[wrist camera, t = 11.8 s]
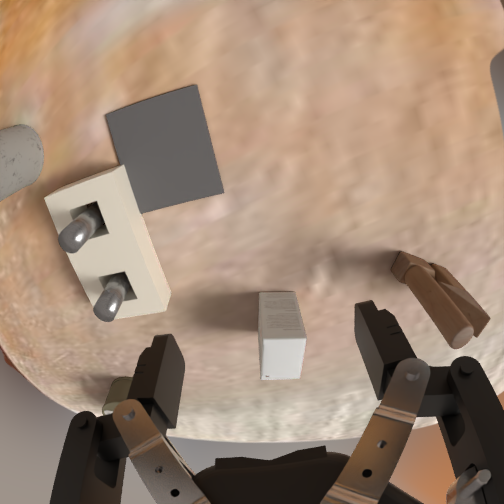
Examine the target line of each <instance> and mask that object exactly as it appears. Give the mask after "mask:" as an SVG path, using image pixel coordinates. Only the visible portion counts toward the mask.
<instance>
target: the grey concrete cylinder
mask: <svg viewBox="0 0 504 504" xmlns="http://www.w3.org/2000/svg"><path fill="white" fill-rule="evenodd" d="M43 163H44V151H43V146H42V142H41V140H40V138H39V135H38V134H37V133H36V132H35V130H33V129H32V128H31V127H29V126H27V125H21V124H20V125H16V126H13V127H10V128H7V129H3V130H0V201H2V200H3V199H5V198H7V197H8V196H10V195H12V194H14V193H15V192H17V191H19V190H21V189H22V188H24V187H26V186H29V185H31V184H32V183H33V182H35V181H36V180H37V178H38V177H39V175H40V173H41V171H42V167H43Z"/></svg>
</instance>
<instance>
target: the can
mask: <svg viewBox="0 0 504 504" xmlns="http://www.w3.org/2000/svg"><path fill="white" fill-rule="evenodd" d="M132 379H133V377H121V378H118V379H116V380H114V381H113V383H112V385H111V388H110V391H109V394H108V396H107V399H106V402H105V404H104V406H103V408H102V413H103V415H107V414H111V413H113V411H114V409H115V407H116V406H117V405H118V404H119V403H121V402H122V401H124V400H126V399H127V396H128V393H129V389H130V386H131V382H132Z"/></svg>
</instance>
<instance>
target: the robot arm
mask: <svg viewBox="0 0 504 504" xmlns="http://www.w3.org/2000/svg"><path fill="white" fill-rule="evenodd" d="M354 330H355V338H356V342H357V345H358V347H359V350H360V353H361V355H362V358H363V361H364V363H365V366H366V369H367V372H368V374H369V377H370V380H371V383H372V385H373V388H374V391H375V394H376V397H377V400H382V401H381V403H380V405H379V407H378V408H376V409H375V411H374V413H373V415H372V417H371V419H370V421H369V423H368V425H367V427H366V429H365V431H364V433H363V435H362V437H361V439H360V441H359V442H358V444H357V446H356V448H355V450H354V451H353V453H352V455H351V457H350V456H348V455H345V454H341V453H336V452H326V446H320V447H315V448H309V449H303V450H297V451H295V452H292V453H289V454H287V455H284V456H281V457H279V458H276V459H273V460H261V459H254V458H246V457H234V458H216V459H215V465H214V466H211V467H209V468H206V469H204V470H202V471H201V472H199V473H197V474H195V473H194V472H193V471H192V469H191V468H190V467H189V466H188V465H187V463H186V462H185V461H184V459H183V458H182V457H181V455H180V454H179V453H178V451H177V450H176V449H175V447H174V446H173V444H172V443H171V442H170V440H169V439H168V437H167V436H166V431H167V429H172V428H176V423H177V417H178V410H179V403H180V397H181V391H182V385H183V379H184V373H185V362H184V358H183V355H182V353H181V351H180V349H179V347H178V345H177V343H176V341H175V339H174V336H173V335H172V334H164V335H156V336H154V339H153V342H152V345H151V347H147V348H146V349H145V350H144V351H143V352H142V354H141V355H140V357H139V360H138V363H137V367H136V369H135V374H134V376H133V379H132V382H131V386H130V389H129V393H128V396H127V399H126V400H124V401H122V402H121V403H119V404H118V405H117V406H116V407H115V409H114V411H113V413H111V414H107V415H104V416H100V417H96V416H95V415H94V414H93V413H92V412H90V411H83V412H80V413H78V414H77V415H75V416H74V417H73V419H72V420H71V423H70V426H69V429H68V432H67V436H66V439H65V443H64V446H63V450H62V454H61V457H60V462H59V466H58V469H57V473H56V477H55V481H54V485H53V490H52V495H51V500H50V504H120V502H121V494H122V486H123V479H124V472H125V465H126V458H127V457H129V458H130V460H131V462H132V463H133V465H134V467H135V469H136V470H137V472H138V474H139V475H140V477H141V479H142V481H143V482H144V484H145V486H146V487H147V489H148V491H149V492H150V494H151V495H152V497H153V498H154V500H155V501H156V503H157V504H423V503H422V502H420V501H418V500H417V499H415V498H414V497H412V496H410V495H409V494H407V493H406V492H404V491H403V490H401V489H399V488H398V487H396V486H395V485H393V484H392V483H390V482H389V480H390V478H391V476H392V474H393V471H394V469H395V467H396V465H397V463H398V461H399V458H400V456H401V454H402V452H403V449H404V447H405V445H406V442H407V440H408V437H409V435H410V432H411V430H412V427H413V425H414V422H415V419H416V417H433V416H436V418H437V421H438V424H439V427H440V430H441V433H442V436H443V439H444V442H445V445H446V448H447V451H448V454H449V457H450V460H451V463H452V467H453V470H454V474H455V477H456V481H454V482H453V483H452V484H451V486H450V487H449V489H448V491H447V495H446V500H447V504H504V410H503V408H502V405H501V403H500V401H499V399H498V397H497V395H496V393H495V391H494V389H493V387H492V385H491V383H490V381H489V380H488V378H487V376H486V374H485V372H484V370H483V368H482V366H481V365H480V363H479V362H478V361H477V360H476V359H474V358H472V357H468V356H462V357H459V358H456V359H455V360H454V361H453V362H452V364H451V366H444V367H432V366H428V364H427V363H426V362H424V361H423V360H421V359H418V358H417V357H416V355H415V353H414V351H413V349H412V348H411V346H410V344H409V342H408V340H407V338H406V336H405V335H404V333H403V332H402V329H401V327H400V326H399V324H398V322H397V320H396V318H395V316H394V315H393V314H391V313H390V312H389V311H387V310H386V309H383V310H379V311H378V310H377V308H376V306H375V304H374V302H373V301H372V300H370V301H365V302H361V303H356V304H355V327H354Z"/></svg>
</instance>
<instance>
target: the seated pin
mask: <svg viewBox="0 0 504 504" xmlns="http://www.w3.org/2000/svg"><path fill="white" fill-rule="evenodd" d="M130 286H131V284H130V281H129V279H128V277H127V275H126V272H125V271H124V272H119V273H114V274H113V276H112V277H111V279H110V281H109V282H108V284H107V285H106V287H105V289H104V290H103V292H102V294H101V295H100V297H99V298H98V300H97V302H96V303H95V305H94V308H93V311H94V313H95V315H96V316H97V317H98V318H99V319H100V320H102V321H105V322H111V321H113V320H114V318H115V316H116V314H117V312H118V310H119V308H120V306H121V304H122V302H123V300H124V298H125V296H126V294H127V292H128V290H129V288H130Z"/></svg>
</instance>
